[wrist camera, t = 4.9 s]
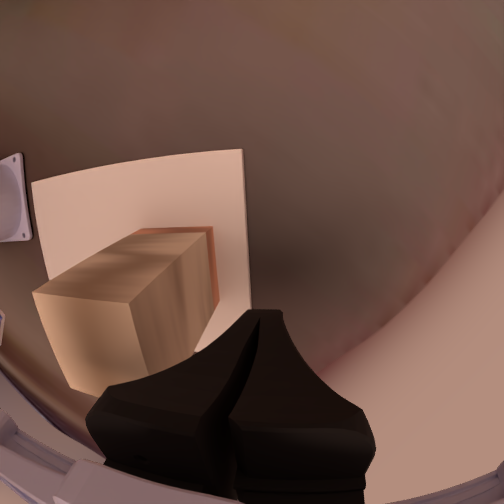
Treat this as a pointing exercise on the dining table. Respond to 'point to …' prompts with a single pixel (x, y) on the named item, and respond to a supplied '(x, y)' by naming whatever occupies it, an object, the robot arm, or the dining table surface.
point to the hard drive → (1, 324)
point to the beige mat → (152, 216)
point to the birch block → (131, 306)
